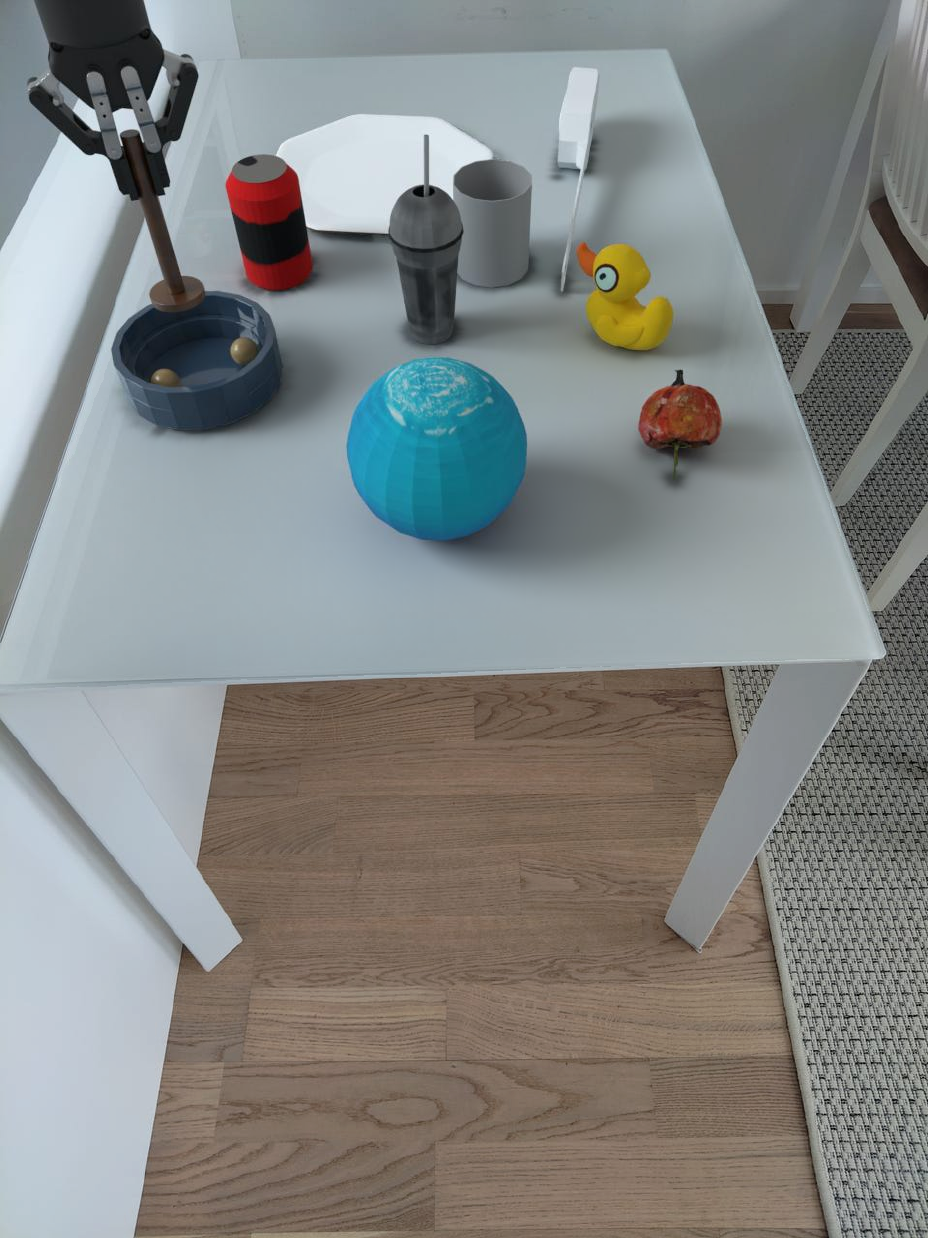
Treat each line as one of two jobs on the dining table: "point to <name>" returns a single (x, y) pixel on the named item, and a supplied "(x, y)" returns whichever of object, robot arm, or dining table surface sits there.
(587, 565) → the dining table surface
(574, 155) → the spatula
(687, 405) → the orange red pumpkin
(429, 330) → the beverage cup
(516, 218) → the cup
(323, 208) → the plate
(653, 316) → the duckling
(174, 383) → the bead
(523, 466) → the decorative orb
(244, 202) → the soda can
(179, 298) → the stirrer
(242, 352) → the bead
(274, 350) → the bowl
